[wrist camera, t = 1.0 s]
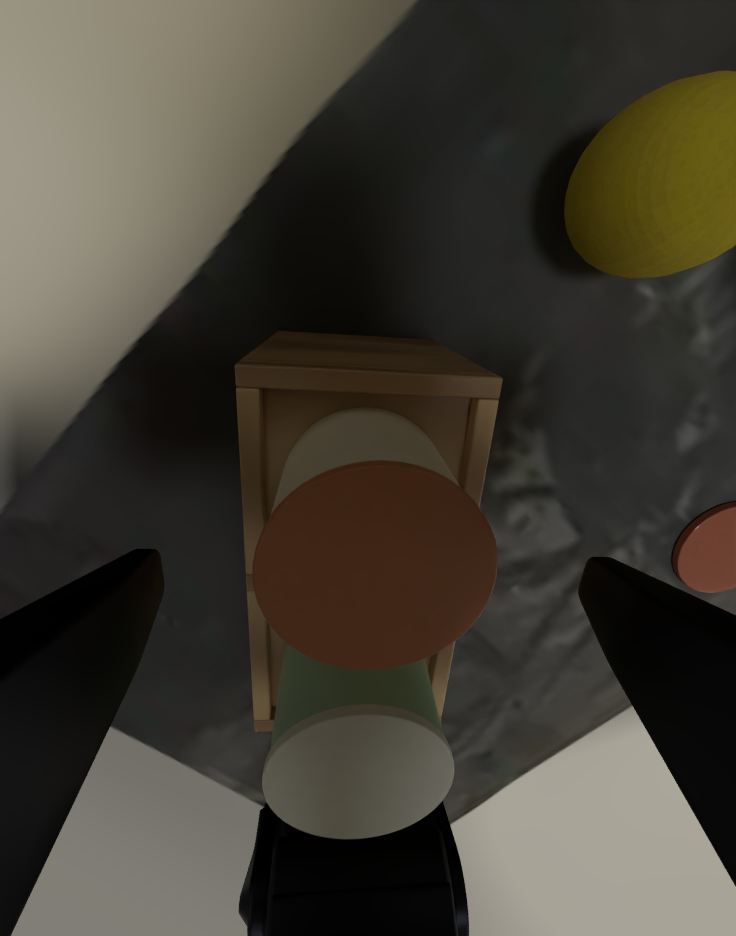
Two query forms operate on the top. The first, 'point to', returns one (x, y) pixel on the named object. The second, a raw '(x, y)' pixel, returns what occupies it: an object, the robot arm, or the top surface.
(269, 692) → the pod rack
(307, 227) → the top surface
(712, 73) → the lemon
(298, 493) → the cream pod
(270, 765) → the cylinder
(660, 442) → the top surface
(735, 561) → the coaster
